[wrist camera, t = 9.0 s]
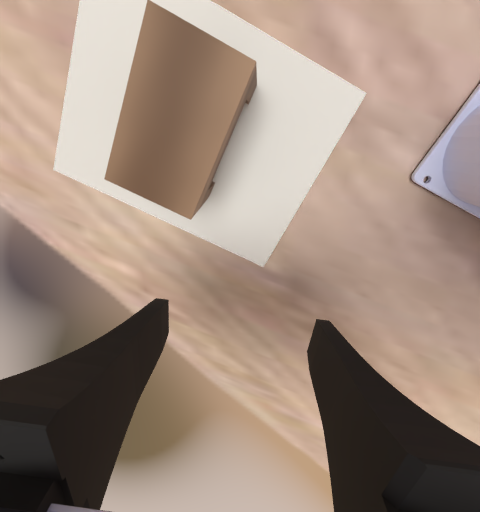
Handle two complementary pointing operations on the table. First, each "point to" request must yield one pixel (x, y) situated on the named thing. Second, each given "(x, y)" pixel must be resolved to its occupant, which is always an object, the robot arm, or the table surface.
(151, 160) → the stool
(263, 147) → the mat
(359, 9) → the table surface
